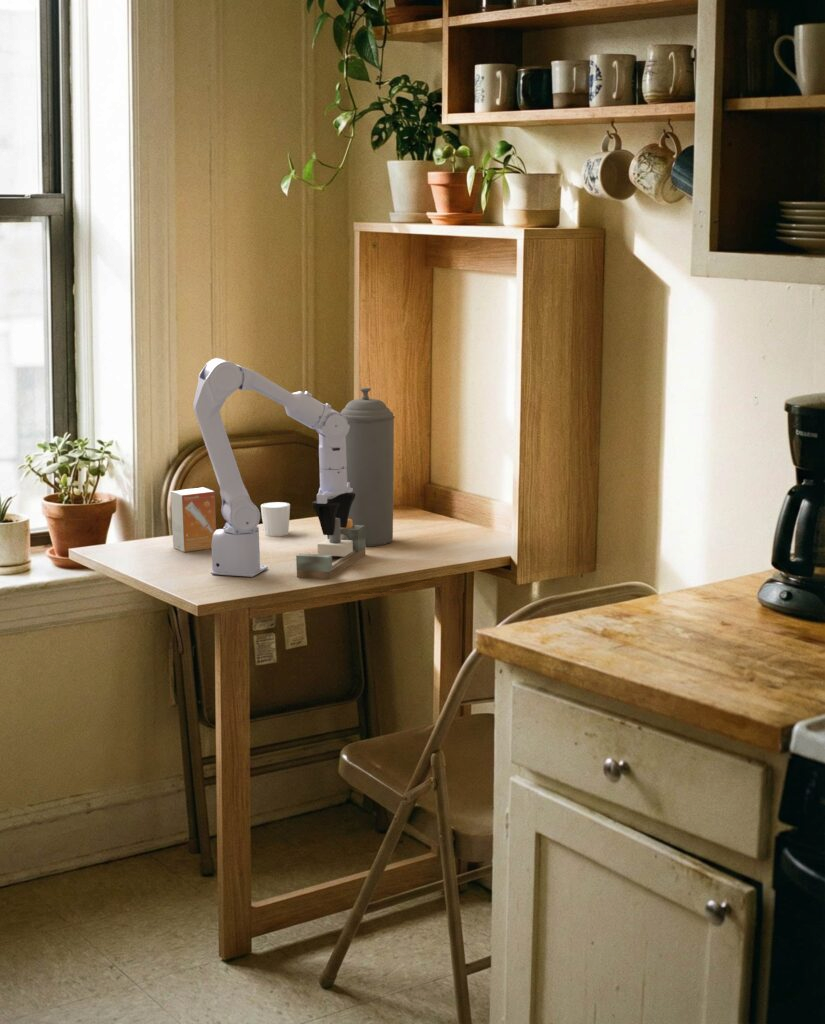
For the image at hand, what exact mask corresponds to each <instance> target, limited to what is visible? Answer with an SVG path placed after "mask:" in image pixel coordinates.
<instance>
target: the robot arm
mask: <svg viewBox="0 0 825 1024" xmlns="http://www.w3.org/2000/svg"><path fill="white" fill-rule="evenodd" d="M197 379H198V383H197V387H196V391H195V393H194V394H195V395H194V400H193V403H192V408H193V413H194V416H195V418H196V421H197V424H198V427H199V429H200V433H201V436H202V439H203V442H204V445H205V448H206V450H207V454H208V457H209V460H210V462H211V465H212V468H213V472H214V475H215V478H216V480H217V483H218V486H219V495H220V498H221V515H222V517H223V519H224V521H226V522H225V524H224V526H223V528H218V529H216V531H215V532H214V534H213V537H212V543H211V547H212V548H211V565H212V567H211V568H212V571H211V572H210V574H211V575H221V576H234V577H235V576H236V577H247V578H248V577H249V578H252V577H255V576H256V575H258V574H260V573H261V572H263V571H265V570H267V569H268V565H261V555H260V554H261V552H260V531H259V528H260V526H259V523H260V520H261V512H260V510H259V508H258V506H257V505H255V503H253V500H251V498H250V494H249V492H248V490H247V488H246V486H245V484H244V481H243V479H242V476H241V472H240V469H239V467H238V464H237V461H236V458H235V455H234V452H233V449H232V446H231V442H230V440H229V437H228V434H227V430H226V427H225V424H224V421H223V417H221V416H222V415H221V412H220V410H221V409H222V407H223V406H224V404H225V403H226V401H227V399H228V398H230V396H232V394H234V393H235V392H236V391H237V390H240V391H254V392H257V393H258V394H260V395H262V396H264V397H266V398H267V399H270V400H272V401H274V402H275V403H278V404H279V405H281V406H283V407H284V409H285V413H286V415H287V417H289V418H292V419H293V420H295V421H297V422H298V423H300V424H302V425H303V426H304V425H305V426H306V427H308V428H309V429H312V430H315V432H317V434H318V458H319V460H318V461H319V463H318V464H319V488H318V493H317V494H316V500H314V501H312V503H311V506H312V508H313V510H314V511H315V514H316V515H317V518H318V520H319V525H320V527H321V532H322V534H323V536H327V535H333V534H334V530H335V519H336V518H340V527H342V528H346V526H347V522H348V516H349V512H350V508H351V505H352V502H353V500H354V498H355V493H350V492H352V491H353V488H350V482H347V457H346V435H347V433H348V431H349V428H350V425H348V421H347V419H346V417H345V416H344V415H343V414H341V412H340V411H339V412H338V411H337V410H335V409H334V408H332V405H331V404H329V403H323V402H321V401H320V400H318V399H316V398H315V397H313V394H312V393H310V392H309V391H307V390H305V391H301V390H298V391H295V392H291V391H289V390H287V389H285V388H283V387H282V386H280V385H278V384H277V383H275V382H273V381H272V380H270V379H268V378H267V377H266V376H263V375H262V374H261V373H258V372H256V371H255V370H252V369H250V368H247V367H245V366H241V365H239V364H236V363H234V362H232V361H228V360H226V359H224V358H222V357H216V358H213V359H210V360H209V361H208V362H206V363H205V365H204V367H203V368H202V370H200V372H199V374H198V378H197Z"/></svg>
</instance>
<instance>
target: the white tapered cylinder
mask: <svg viewBox="0 0 825 1024" xmlns="http://www.w3.org/2000/svg"><path fill="white" fill-rule="evenodd" d="M290 509H291V504H290V503H289V502H283V501H273V502H272V501H271V502H264V503H262V504H260V511H261V512H260V514H261V519H262V520H261V521H262V525H263V526H262V527H263V534H264V536H267V537H282V536H286V535H289V530H290V512H291V510H290Z"/></svg>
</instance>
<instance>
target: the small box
mask: <svg viewBox="0 0 825 1024" xmlns="http://www.w3.org/2000/svg"><path fill="white" fill-rule="evenodd" d="M215 493H216V492H215V490H212V489H210V488H207V487H204V486H202V487H198V488H197V487H196V488H185V489H179V490H170V504H171V506H170V507H171V508H170V509H171V510H170V511H171V527H172V528H171V529H172V545H173V546H172V547H173V548H174V549H175V550H179V551H181V552H184V553H187V552H193V551H199V550H209V549H212V547H211V543H212V537H213V534H214V532H215V531H216V530H217V524H216V523H217V521H216V520H217V519H216V499H215V497H216V496H215V495H216V494H215Z"/></svg>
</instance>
